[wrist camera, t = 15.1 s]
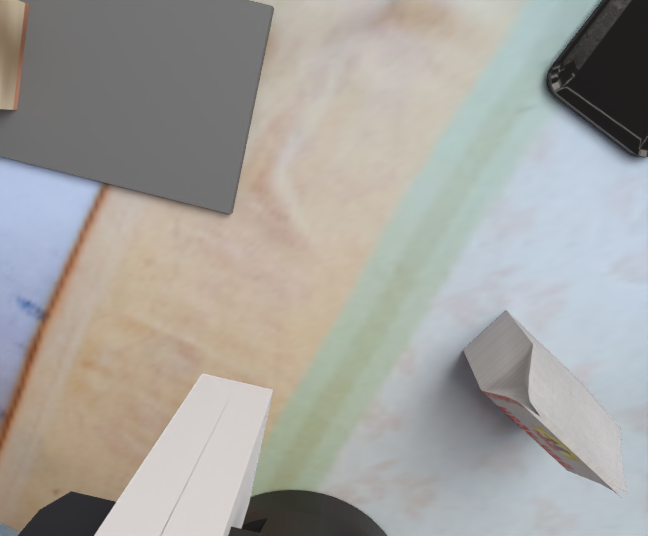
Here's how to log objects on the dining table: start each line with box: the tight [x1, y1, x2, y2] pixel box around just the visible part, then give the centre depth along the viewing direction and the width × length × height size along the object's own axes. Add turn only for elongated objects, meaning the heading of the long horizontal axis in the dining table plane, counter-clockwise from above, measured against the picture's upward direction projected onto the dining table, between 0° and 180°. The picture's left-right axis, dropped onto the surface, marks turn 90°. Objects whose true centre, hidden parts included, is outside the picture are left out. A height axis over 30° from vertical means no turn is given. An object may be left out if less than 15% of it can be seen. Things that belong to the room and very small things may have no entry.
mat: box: [0, 0, 274, 214], centre depth 34 cm, size 12×20×1 cm, turn 76°
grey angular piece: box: [463, 310, 628, 498], centre depth 32 cm, size 4×7×10 cm, turn 47°
